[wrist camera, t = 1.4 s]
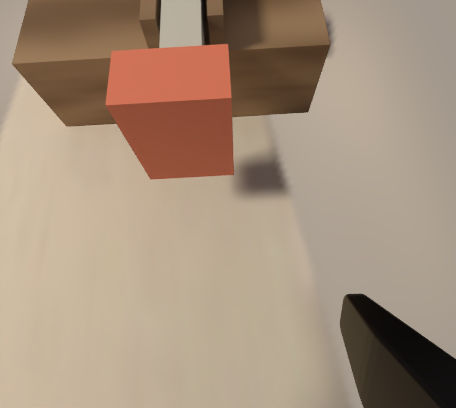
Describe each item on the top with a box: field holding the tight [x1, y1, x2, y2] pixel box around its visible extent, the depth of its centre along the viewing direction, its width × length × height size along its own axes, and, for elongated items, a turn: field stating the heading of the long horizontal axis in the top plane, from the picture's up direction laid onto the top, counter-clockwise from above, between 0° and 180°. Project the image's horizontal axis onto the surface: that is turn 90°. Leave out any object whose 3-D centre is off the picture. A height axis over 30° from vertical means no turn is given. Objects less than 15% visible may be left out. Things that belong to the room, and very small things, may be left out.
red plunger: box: [105, 0, 234, 179], centre depth 16 cm, size 13×4×6 cm, turn 3°
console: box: [12, 0, 330, 126], centre depth 21 cm, size 8×18×8 cm, turn 93°
